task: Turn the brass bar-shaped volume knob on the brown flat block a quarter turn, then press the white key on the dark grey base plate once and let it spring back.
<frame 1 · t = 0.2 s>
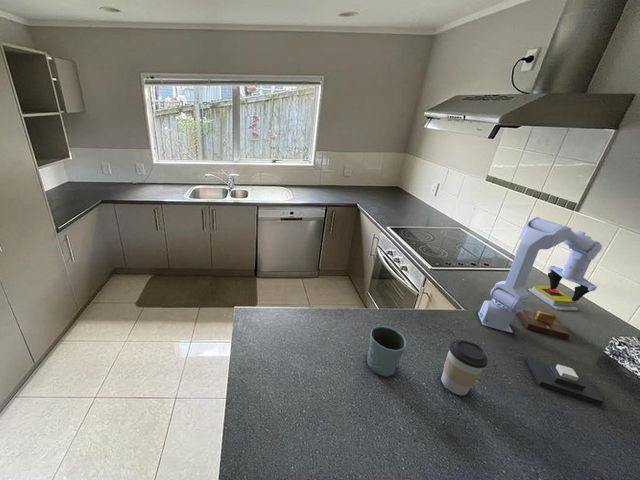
hand: (563, 294, 113), 10 cm above the worktop, tool pointing down, fingers open, 7 cm apart
dark grey base plate: (560, 381, 88), on the worktop
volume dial: (545, 317, 109), point 4 cm above the worktop, hinge at 0.0°
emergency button: (551, 299, 127), on the worktop
brown flat block: (540, 325, 111), on the worktop
teal cup: (380, 365, 91), on the worktop
coffee cup: (453, 385, 86), on the worktop
piano key: (566, 372, 86), point 4 cm above the worktop, slide at 0.1 cm
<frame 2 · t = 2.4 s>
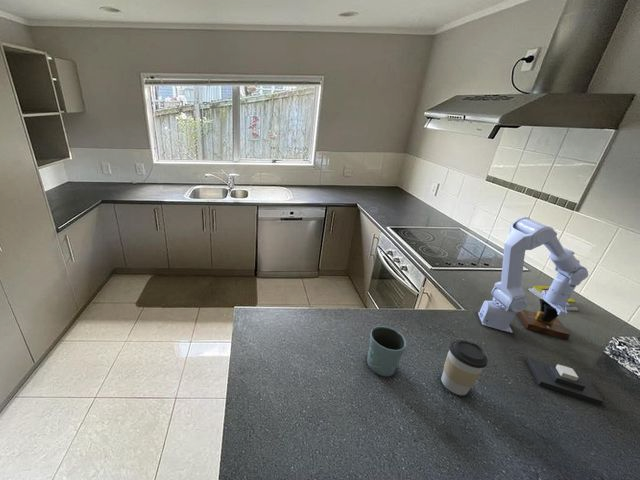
hand: (544, 319, 110), 3 cm above the worktop, tool pointing down, fingers closed on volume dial, 2 cm apart
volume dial: (545, 317, 109), point 4 cm above the worktop, hinge at -0.1°, touching gripper
everything else where it was.
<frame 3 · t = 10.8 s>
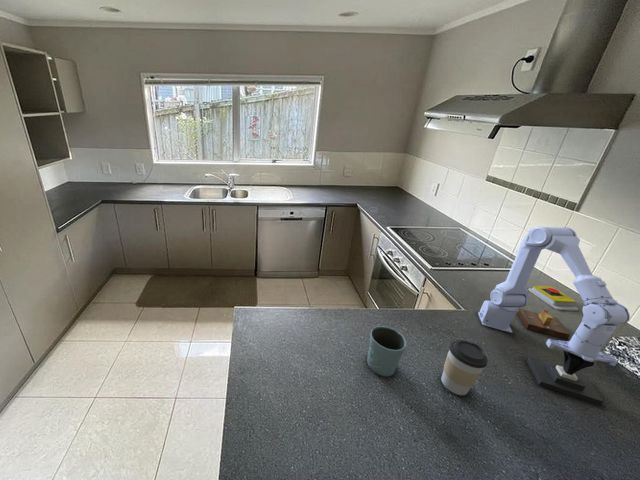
hand: (567, 371, 86), 4 cm above the worktop, tool pointing down, fingers closed, pressing on piano key
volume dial: (545, 317, 109), point 4 cm above the worktop, hinge at 89.3°
piano key: (565, 373, 87), point 4 cm above the worktop, slide at -0.3 cm, touching gripper
everything else where it was.
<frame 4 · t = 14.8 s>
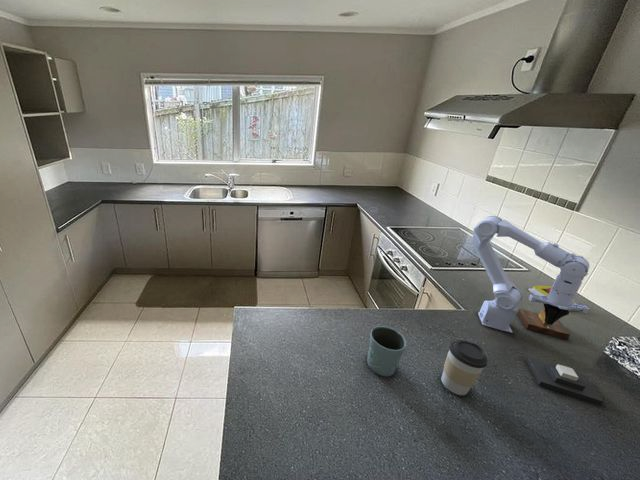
hand: (548, 322, 99), 9 cm above the worktop, tool pointing down, fingers closed
piano key: (566, 372, 86), point 4 cm above the worktop, slide at 0.1 cm
everything else where it was.
at the end: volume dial at +89° (first picture: +0°); piano key pushed in 1.2 cm at the most during the clip, back to where it started at the end; piano key slide at 0.1 cm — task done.
